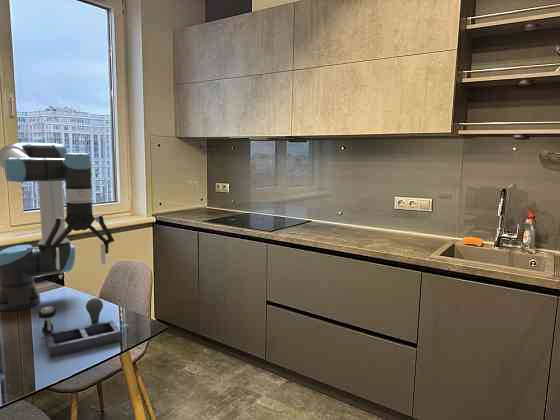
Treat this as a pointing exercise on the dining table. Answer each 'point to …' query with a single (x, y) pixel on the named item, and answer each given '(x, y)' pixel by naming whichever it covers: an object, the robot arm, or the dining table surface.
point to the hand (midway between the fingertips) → (81, 265)
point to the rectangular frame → (82, 338)
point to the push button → (47, 319)
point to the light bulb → (94, 309)
